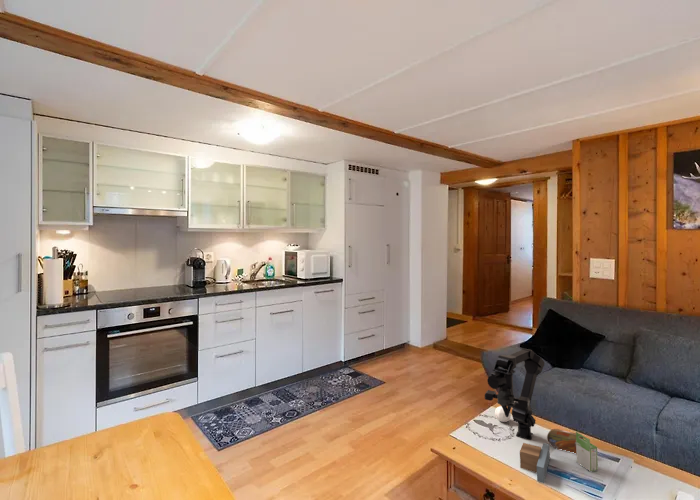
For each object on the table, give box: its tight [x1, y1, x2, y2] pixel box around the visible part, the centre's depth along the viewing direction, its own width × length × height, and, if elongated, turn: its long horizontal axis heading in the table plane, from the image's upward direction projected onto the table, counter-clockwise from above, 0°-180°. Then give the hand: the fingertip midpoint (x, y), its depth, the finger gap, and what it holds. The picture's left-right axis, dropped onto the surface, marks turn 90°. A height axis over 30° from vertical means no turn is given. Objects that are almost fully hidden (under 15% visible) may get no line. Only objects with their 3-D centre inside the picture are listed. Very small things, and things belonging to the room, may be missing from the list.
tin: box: [546, 428, 584, 454], centre depth 163 cm, size 15×3×8 cm, turn 53°
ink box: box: [575, 431, 599, 472], centre depth 151 cm, size 7×4×13 cm, turn 12°
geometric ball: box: [494, 405, 512, 423], centre depth 192 cm, size 8×8×8 cm
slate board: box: [536, 442, 551, 484], centre depth 150 cm, size 20×2×6 cm, turn 145°
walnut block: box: [519, 442, 542, 474], centre depth 152 cm, size 8×7×7 cm
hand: (507, 416), depth 169 cm, fingers closed
